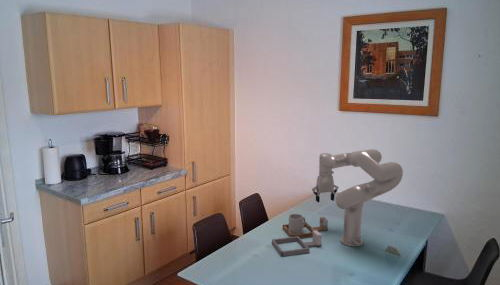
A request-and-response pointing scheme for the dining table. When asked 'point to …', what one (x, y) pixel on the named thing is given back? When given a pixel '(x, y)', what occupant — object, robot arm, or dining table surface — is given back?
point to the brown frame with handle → (322, 227)
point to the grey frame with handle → (315, 242)
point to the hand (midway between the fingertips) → (325, 201)
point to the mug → (296, 223)
